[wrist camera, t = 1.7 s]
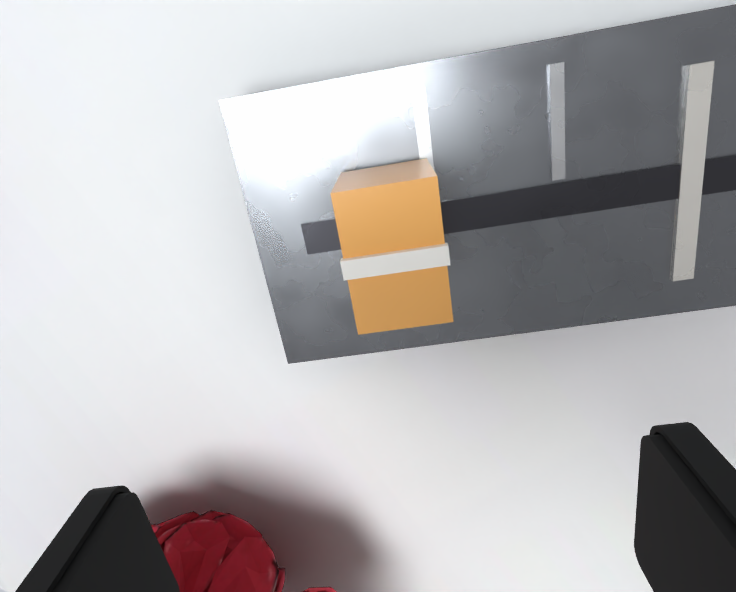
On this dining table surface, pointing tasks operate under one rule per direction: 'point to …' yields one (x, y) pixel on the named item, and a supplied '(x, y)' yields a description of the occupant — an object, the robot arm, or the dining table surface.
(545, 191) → the block
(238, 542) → the bouquet
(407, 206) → the fader knob
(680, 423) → the robot arm
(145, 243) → the dining table surface
